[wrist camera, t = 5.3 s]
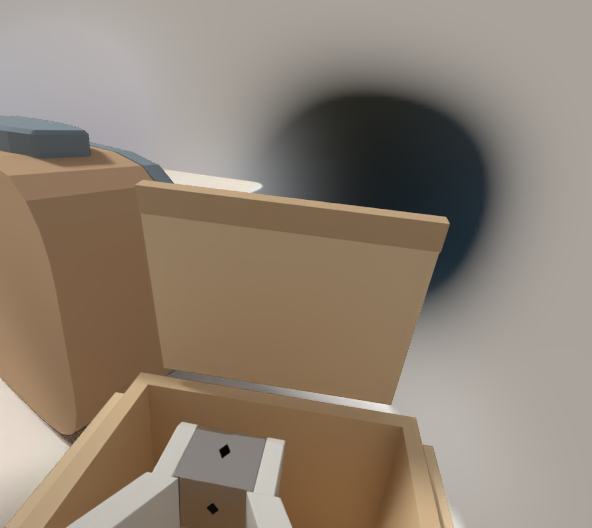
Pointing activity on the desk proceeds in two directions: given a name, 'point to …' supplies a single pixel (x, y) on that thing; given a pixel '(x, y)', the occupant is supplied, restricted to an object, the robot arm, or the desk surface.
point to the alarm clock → (72, 271)
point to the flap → (286, 287)
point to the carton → (263, 422)
